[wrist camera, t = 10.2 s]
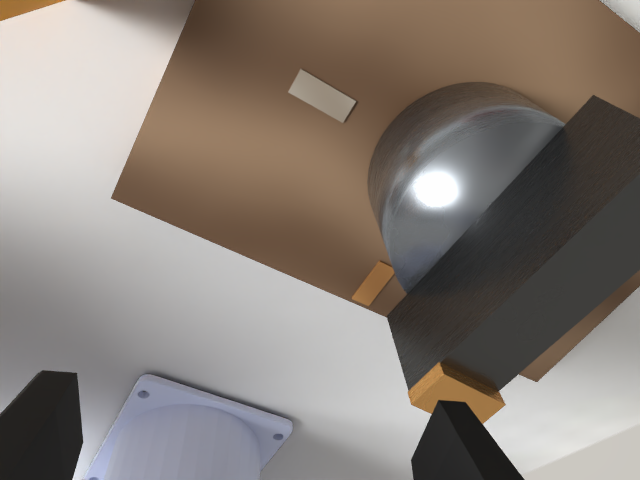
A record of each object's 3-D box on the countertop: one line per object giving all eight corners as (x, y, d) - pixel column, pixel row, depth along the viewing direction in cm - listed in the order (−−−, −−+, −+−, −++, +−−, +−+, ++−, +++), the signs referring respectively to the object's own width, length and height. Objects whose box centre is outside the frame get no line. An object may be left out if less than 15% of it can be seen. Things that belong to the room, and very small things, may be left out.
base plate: (523, 358, 25) (537, 383, 24) (122, 179, 18) (109, 199, 17) (751, 136, 19) (786, 151, 18) (296, -226, 13) (298, -244, 12)
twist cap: (608, 131, 17) (802, 248, 11) (449, 293, 20) (528, 458, 14) (472, 15, 15) (619, 76, 9) (317, 217, 18) (340, 372, 12)
